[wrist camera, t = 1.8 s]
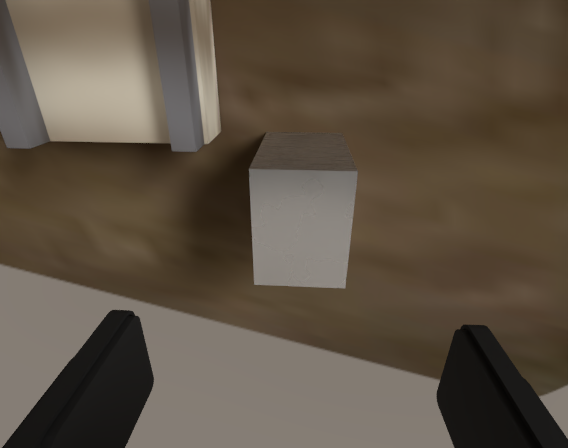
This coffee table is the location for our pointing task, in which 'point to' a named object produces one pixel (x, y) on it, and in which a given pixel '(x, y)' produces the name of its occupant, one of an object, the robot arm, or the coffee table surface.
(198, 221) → the coffee table surface
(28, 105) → the cradle
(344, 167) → the tall white block
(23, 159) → the coffee table surface
